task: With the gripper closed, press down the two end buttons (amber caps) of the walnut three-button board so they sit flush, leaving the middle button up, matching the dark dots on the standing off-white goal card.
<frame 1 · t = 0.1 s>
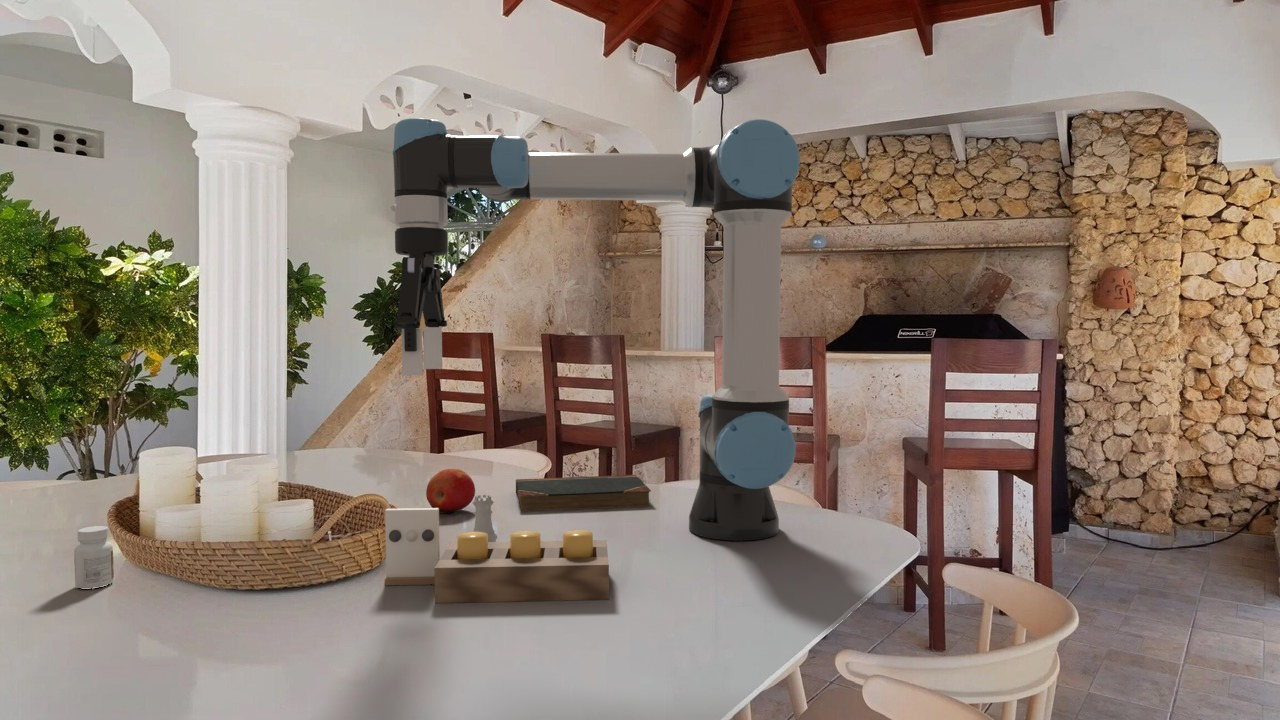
hand: (423, 372, 127), 28 cm above the table, fingers open, 13 cm apart
apple: (450, 513, 158), on the table
rook chess piece: (483, 548, 134), on the table
button 1: (472, 551, 114), point 5 cm above the table, slide at 0.0 cm
book: (581, 502, 169), on the table
board: (525, 586, 115), on the table
pill bottle: (95, 586, 115), on the table
goal card: (413, 581, 117), on the table
button middle: (525, 550, 114), point 5 cm above the table, slide at 0.0 cm
button 2: (577, 549, 115), point 5 cm above the table, slide at 0.0 cm
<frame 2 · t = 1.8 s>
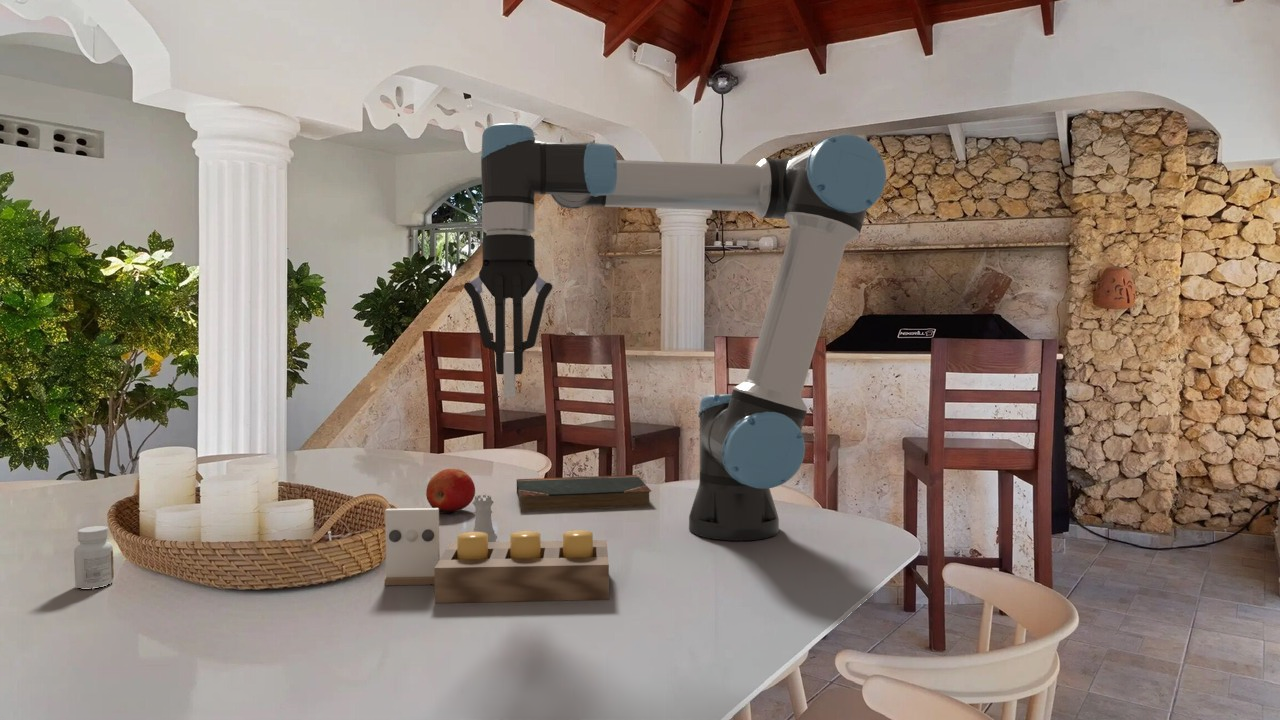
hand: (509, 396, 125), 24 cm above the table, fingers closed
nothing on the table moved.
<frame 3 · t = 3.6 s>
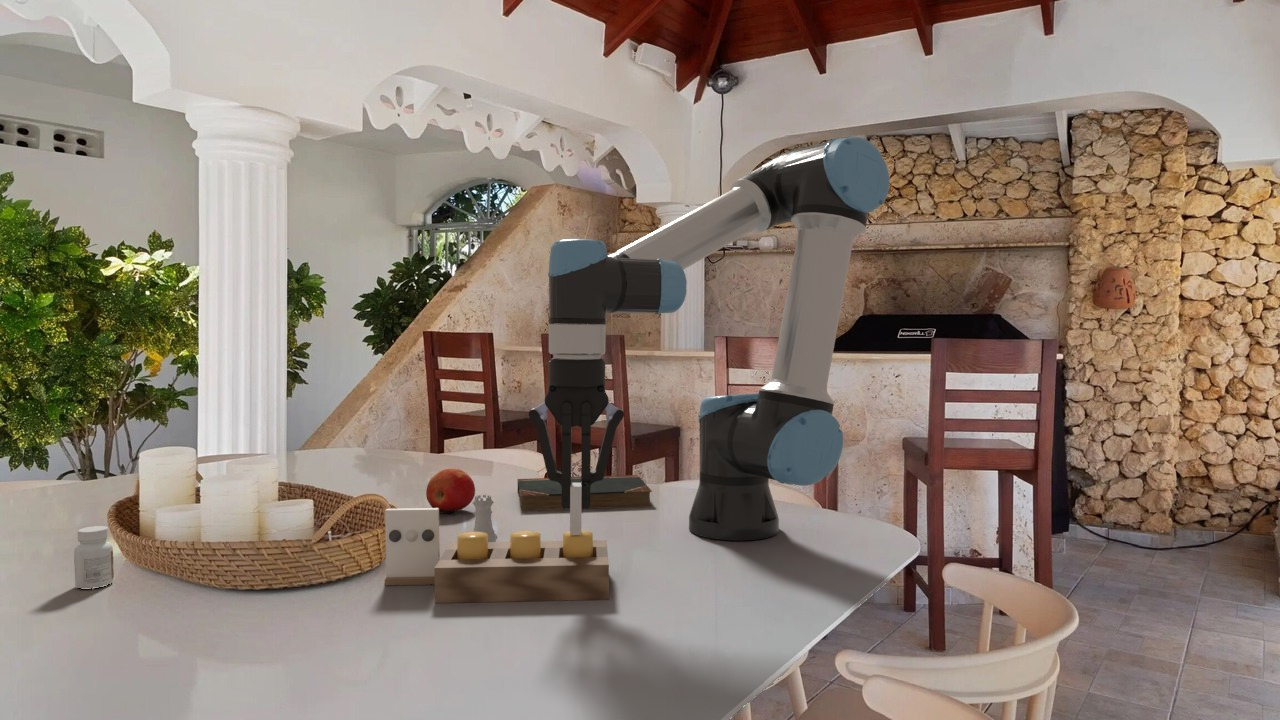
hand: (575, 532, 115), 7 cm above the table, fingers closed
button 2: (577, 549, 115), point 5 cm above the table, slide at 0.0 cm, touching gripper
everything else where it was.
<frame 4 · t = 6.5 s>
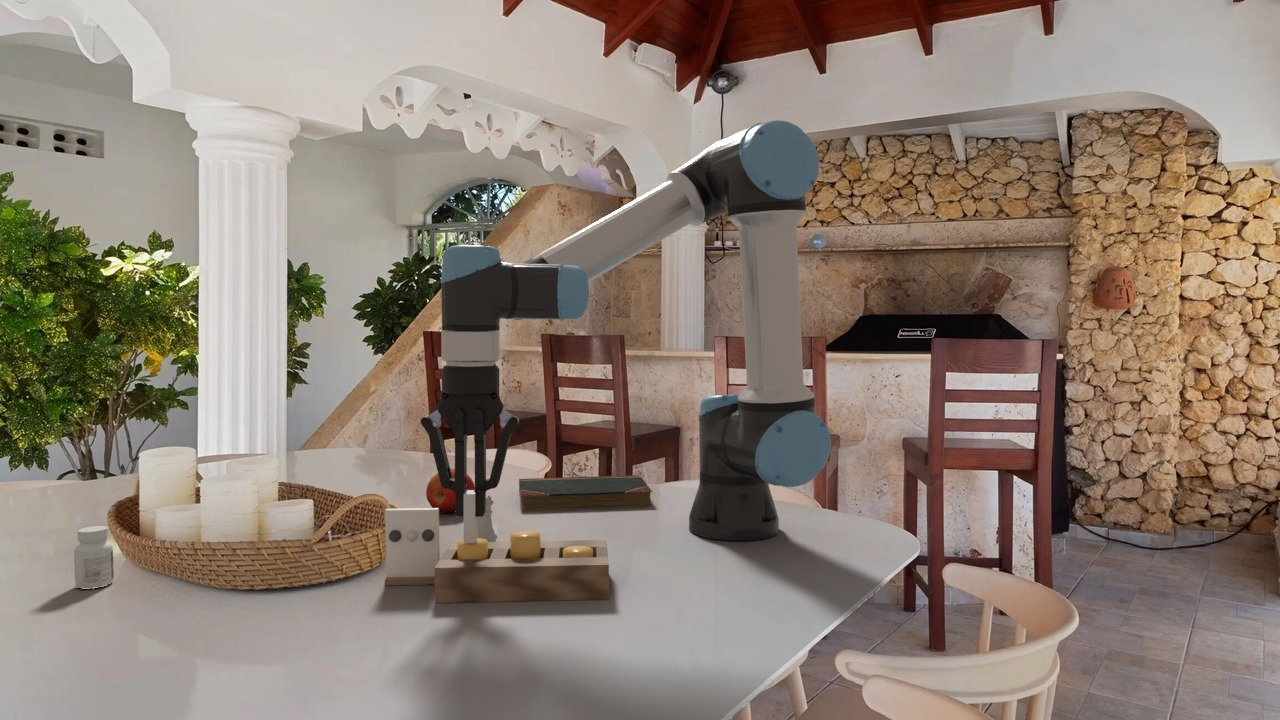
hand: (470, 540, 114), 6 cm above the table, fingers closed
button 1: (472, 557, 114), point 4 cm above the table, slide at 0.9 cm, touching gripper
button 2: (577, 565, 115), point 3 cm above the table, slide at 2.2 cm
everything else where it was.
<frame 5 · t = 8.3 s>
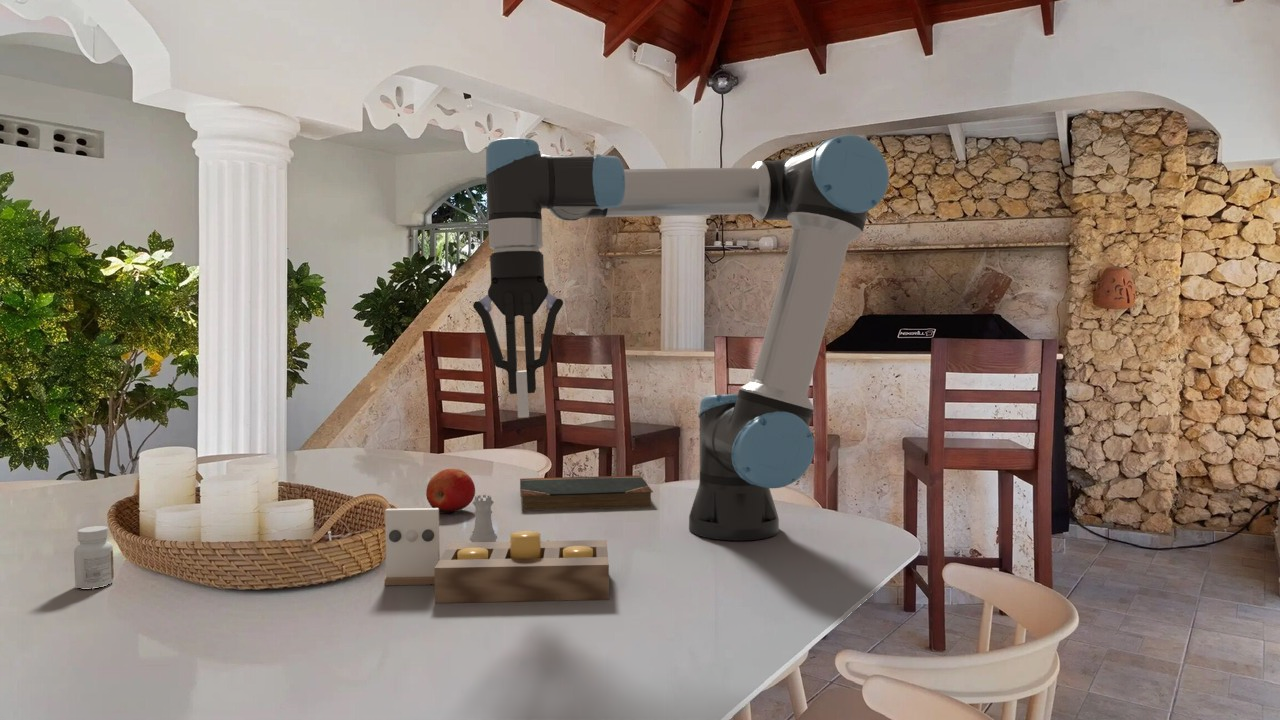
hand: (523, 416, 123), 22 cm above the table, fingers closed
button 1: (472, 567, 114), point 3 cm above the table, slide at 2.2 cm
everything else where it was.
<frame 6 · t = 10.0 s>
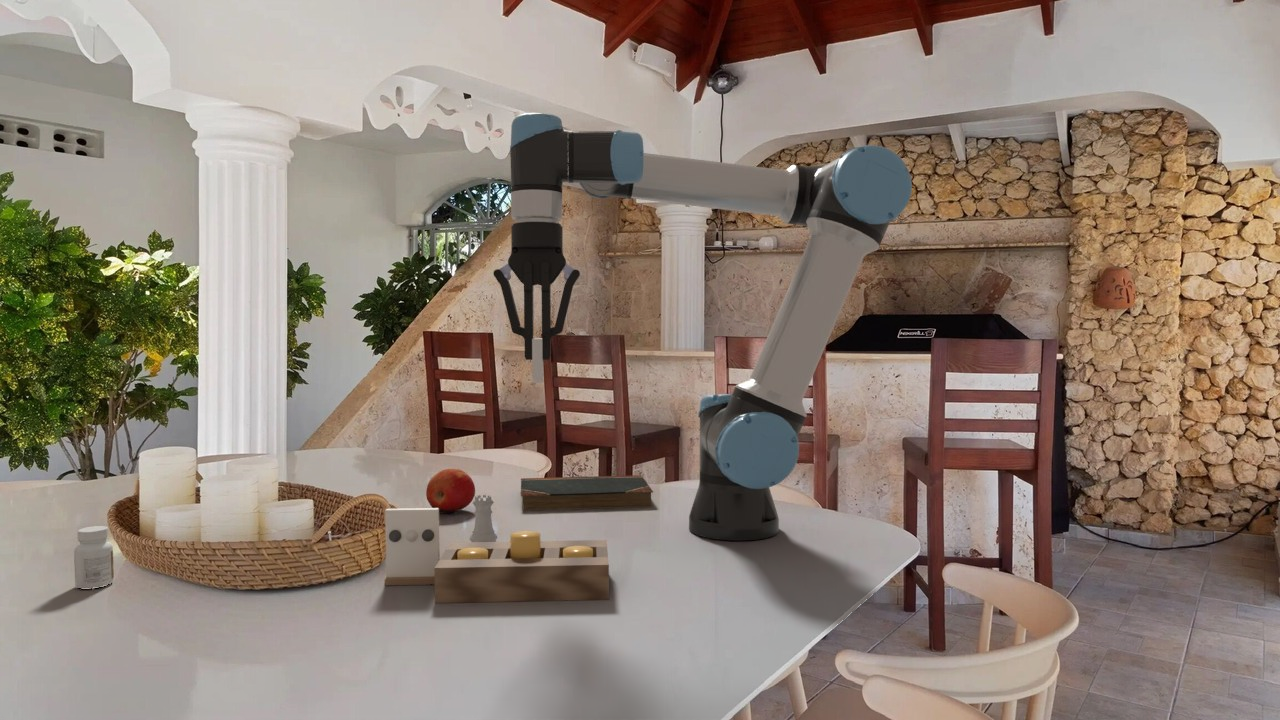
hand: (537, 381, 127), 26 cm above the table, fingers closed
nothing on the table moved.
at the end: button 2 slide at 2.2 cm; button 1 slide at 2.2 cm; button middle slide at 0.0 cm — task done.
